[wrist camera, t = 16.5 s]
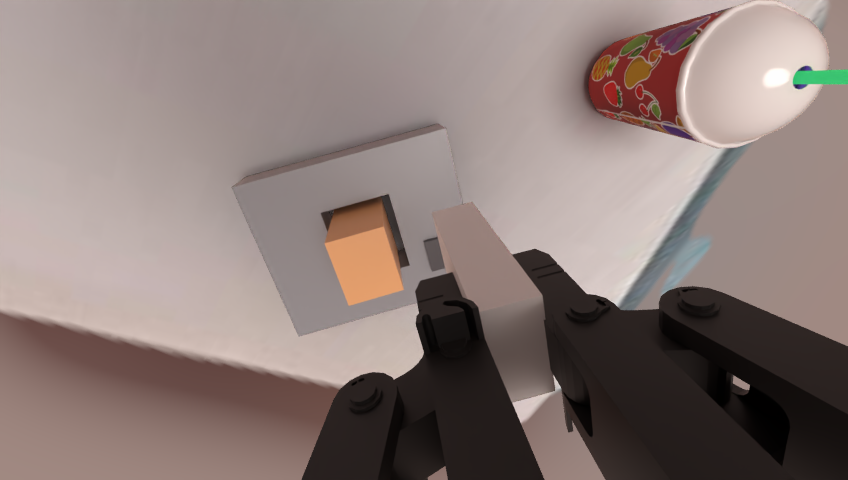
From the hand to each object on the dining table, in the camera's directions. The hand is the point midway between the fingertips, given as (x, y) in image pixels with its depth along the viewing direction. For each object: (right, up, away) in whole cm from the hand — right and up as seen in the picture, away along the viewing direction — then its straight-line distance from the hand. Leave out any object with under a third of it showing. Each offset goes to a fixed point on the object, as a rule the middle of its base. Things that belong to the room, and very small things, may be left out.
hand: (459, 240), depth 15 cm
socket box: (-7, +1, +24) cm, 25 cm away
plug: (-7, +2, +24) cm, 25 cm away
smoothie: (+16, +15, +22) cm, 31 cm away
